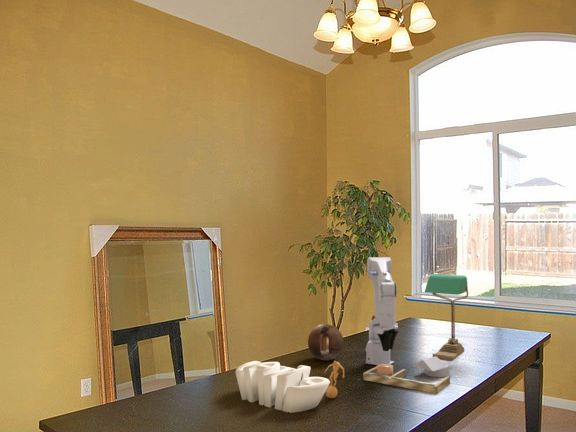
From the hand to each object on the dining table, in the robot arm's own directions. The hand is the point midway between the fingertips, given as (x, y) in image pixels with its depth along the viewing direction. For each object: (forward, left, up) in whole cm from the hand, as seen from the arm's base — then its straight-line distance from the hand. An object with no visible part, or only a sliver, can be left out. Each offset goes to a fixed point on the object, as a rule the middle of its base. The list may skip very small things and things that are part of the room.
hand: (387, 349), depth 202 cm
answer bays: (+8, -2, -10) cm, 13 cm away
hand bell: (-22, +33, -10) cm, 41 cm away
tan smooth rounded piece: (0, -2, -10) cm, 10 cm away
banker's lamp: (+8, +45, -10) cm, 47 cm away
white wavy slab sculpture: (-19, -45, -10) cm, 50 cm away
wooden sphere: (-32, +7, -10) cm, 34 cm away
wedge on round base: (+13, +12, -10) cm, 21 cm away
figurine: (-5, -33, -10) cm, 35 cm away
